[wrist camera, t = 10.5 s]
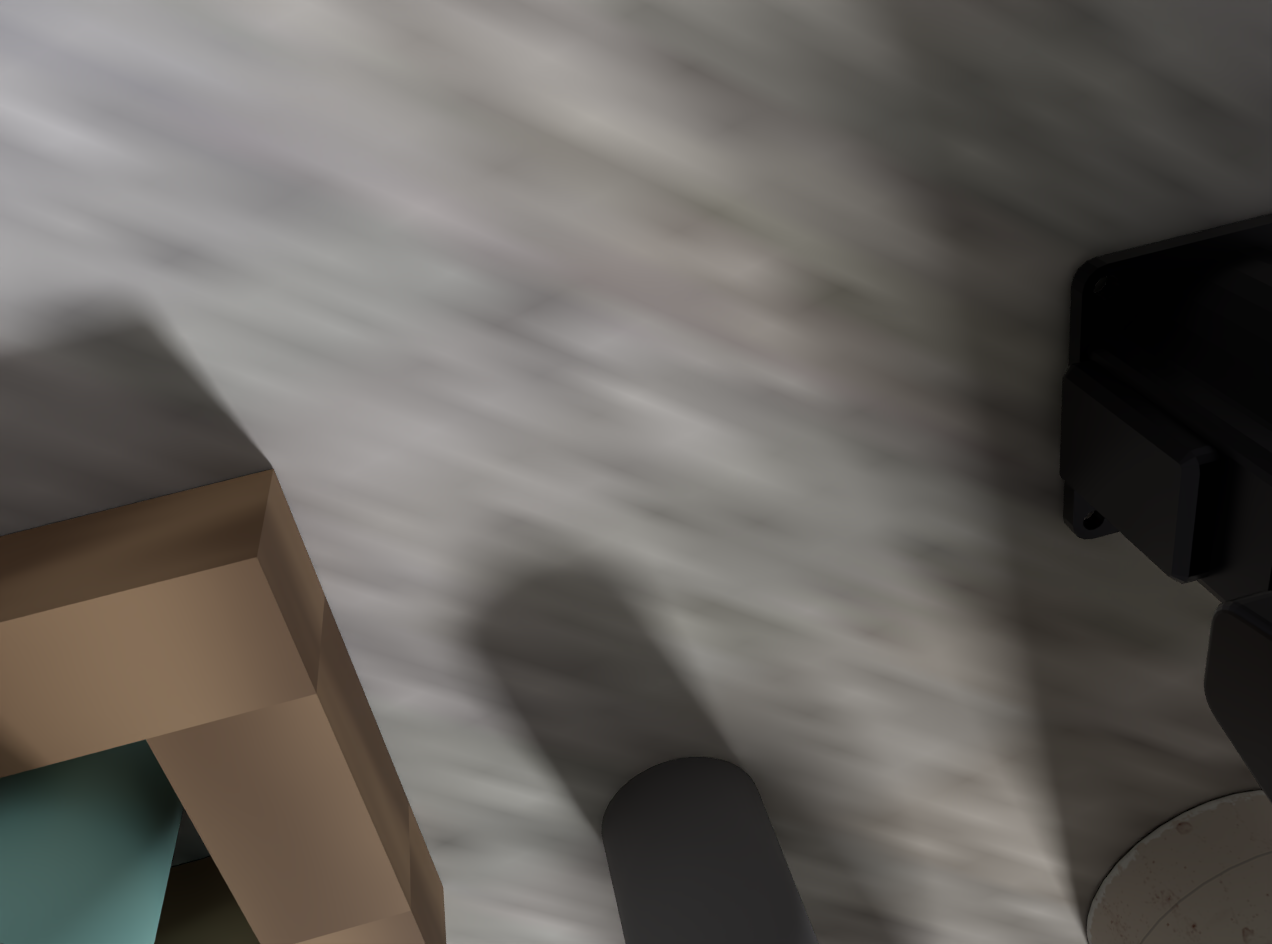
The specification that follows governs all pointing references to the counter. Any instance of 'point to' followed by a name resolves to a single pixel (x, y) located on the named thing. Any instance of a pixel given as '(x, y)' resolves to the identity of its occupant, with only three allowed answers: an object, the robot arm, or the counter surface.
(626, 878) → the black dowel
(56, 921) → the peg
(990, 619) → the counter surface
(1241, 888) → the thermos bottle
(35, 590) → the socket block
